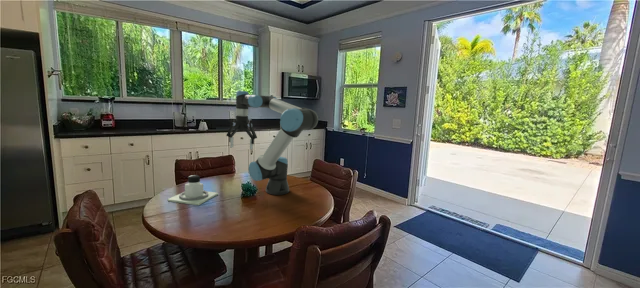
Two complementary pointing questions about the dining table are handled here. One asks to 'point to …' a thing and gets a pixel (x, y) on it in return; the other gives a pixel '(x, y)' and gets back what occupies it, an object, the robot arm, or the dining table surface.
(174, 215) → the dining table surface
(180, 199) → the socket board
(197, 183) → the medicine bottle
